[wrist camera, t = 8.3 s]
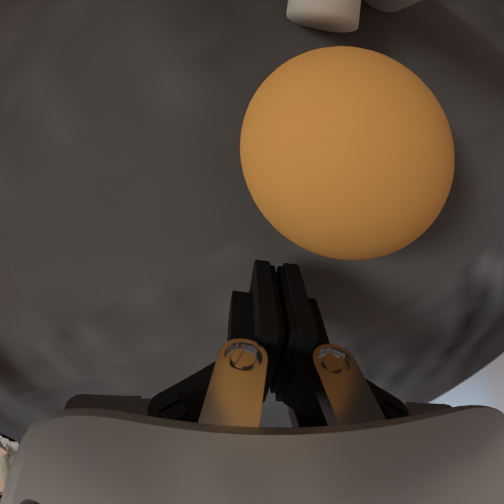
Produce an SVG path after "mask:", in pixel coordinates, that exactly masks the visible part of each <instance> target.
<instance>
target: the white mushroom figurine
mask: <svg viewBox="0 0 504 504" xmlns="http://www.w3.org/2000/svg"><path fill="white" fill-rule="evenodd" d="M0 441H2V444H4V445H3V446H5V447H6V450H7V455H3V454H1V456H0V472H1V476H2V479H3V483H4V485H5V481H6V478H7V475H8V472H9V469H10V466H11V463H12V461H13V458H14V456H15V453H16V451H17V449H18V446H19V444H18V442H15V441H14V442H12V441H11V442H10V441H9V440H8V439H6V438H2V437H1V436H0ZM2 493H3V492H0V502H1V498H2Z"/></svg>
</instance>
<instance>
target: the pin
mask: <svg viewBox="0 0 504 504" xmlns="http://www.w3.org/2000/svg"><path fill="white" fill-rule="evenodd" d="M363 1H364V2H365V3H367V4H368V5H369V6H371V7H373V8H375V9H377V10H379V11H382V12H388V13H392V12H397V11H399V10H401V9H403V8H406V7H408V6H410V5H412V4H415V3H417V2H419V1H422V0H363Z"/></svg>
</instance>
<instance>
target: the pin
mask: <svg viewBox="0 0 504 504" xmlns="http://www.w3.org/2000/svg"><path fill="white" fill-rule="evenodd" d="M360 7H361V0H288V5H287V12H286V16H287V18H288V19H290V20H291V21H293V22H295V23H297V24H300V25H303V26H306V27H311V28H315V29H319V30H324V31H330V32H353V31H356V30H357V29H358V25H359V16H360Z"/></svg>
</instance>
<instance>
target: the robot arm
mask: <svg viewBox="0 0 504 504" xmlns="http://www.w3.org/2000/svg"><path fill="white" fill-rule="evenodd" d="M269 387H270V391H271V393H275V394H276V401H283V403H285V404H286V405H287V406H288V407H289V409H288V412H289V417H290V420H291V424H292V427H293V428H268V427H259V423H260V416H261V409H262V403H263V402H265V399H266V396H267V393H268V390H269ZM0 504H504V414H503V413H502V412H501V411H499V410H497V409H495V408H492V407H488V406H482V405H467V406H458V407H451V406H450V405H446V404H431V403H415V402H407V403H406V404H405V405H404V404H403V402H401V401H400V400H399V399H397V398H396V397H394V396H393V395H391V394H389V393H388V392H386V391H384V390H383V389H381V388H380V387H378V386H376V385H375V384H373V383H372V382H370V381H368V380H367V379H365V377H364V375H363V374H362V372H361V370H360V368H359V366H358V364H357V362H356V360H355V358H354V357H353V355H352V354H351V353H350V352H349V351H348V350H347V349H345V348H343V347H341V346H339V345H335V344H330V343H329V340H328V337H327V333H326V330H325V327H324V323H323V320H322V317H321V314H320V311H319V307H318V304H317V301H316V300H315V299H311V298H308V296H307V293H306V289H305V286H304V282H303V279H302V275H301V272H300V269H299V266H298V265H296V264H288V263H284V264H283V266H282V267H281V266H278V268H277V272H276V271H275V266H273V265H270V262H269V261H261V260H255V262H254V267H253V273H252V279H251V285H250V290H249V293H248V292H239V291H232V297H231V304H230V312H229V323H228V338H227V342H226V343H225V344H223V345H222V346H221V348H220V350H219V353H218V356H217V359H216V361H215V362H214V363H212V364H210V365H209V366H207V367H205V368H203V369H202V370H200V371H198V372H196V373H195V374H193V375H191V376H189V377H188V378H186V379H184V380H182V381H181V382H179V383H177V384H175V385H173V386H172V387H170V388H168V389H166V390H164V391H162V392H161V393H159V394H157V395H156V396H154V397H153V398H152V399H141V396H116V395H93V394H79V395H76V396H74V397H72V398H70V400H69V401H68V402H67V403H66V406H65V409H61V410H57V411H52V412H49V413H46V414H43V415H42V416H40V417H39V418H37V419H36V420H35V421H34V422H33V423H32V424H31V426H30V427H29V428H28V430H27V431H26V433H25V435H24V436H23V438H22V440H21V442H20V444H19V446H18V449H17V451H16V453H15V456H14V458H13V461H12V463H11V466H10V469H9V472H8V475H7V478H6V481H5V485H4V489H3V493H2V498H1V502H0Z"/></svg>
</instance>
